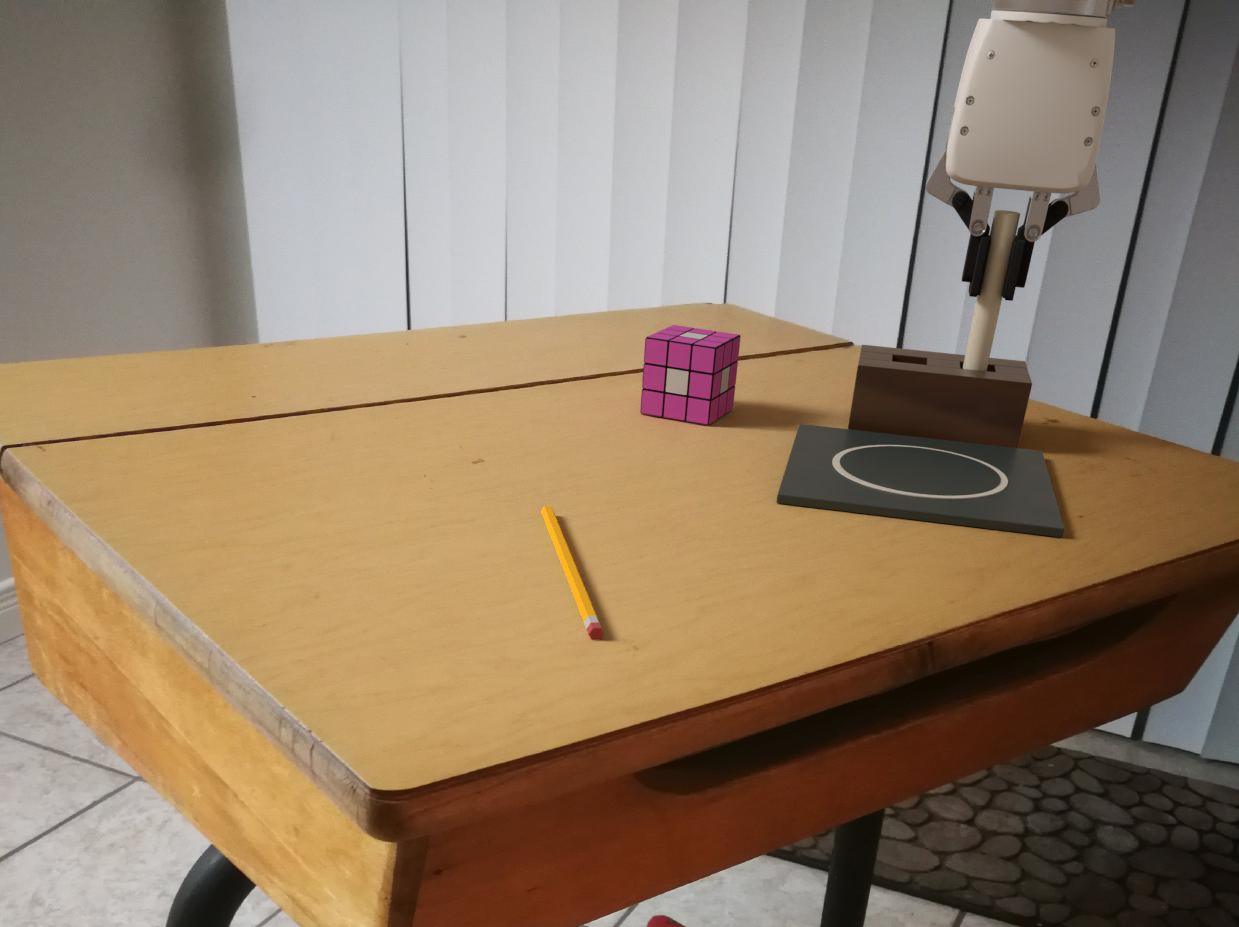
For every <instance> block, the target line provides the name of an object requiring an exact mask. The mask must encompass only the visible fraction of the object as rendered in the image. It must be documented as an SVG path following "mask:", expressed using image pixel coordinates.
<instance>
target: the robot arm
mask: <svg viewBox="0 0 1239 927" xmlns="http://www.w3.org/2000/svg"><path fill="white" fill-rule="evenodd" d="M1135 3H1136V0H993V2H992V8H991V13H990V18H978V21H977V22H976V26H975V28H974V31H973V34H972V37H971V40H970V43H969V46H968V49H967V53H966V56H965V59H964V64H963V67H962V72H961V74H960V79H959V83H958V87H957V91H956V96H955V100H954V104H953V109H952V112H951V118H950V123H949V128H948V132H947V137H946V144H945V149H944V150H943V152H942V154H941V156H940V158H939V160H938V161H937V163H936V165H935V166H934V168H933V170H932V172H931V173H930V175H929V177H928V179H927V181H926V183H925V191H926V193H928V195H930V196H932V197H933V198H936V199H937V200H939V201H941V202H942V203H944V204H946V205H947V206H950V207H952V208H953V209H954V210H955V212H956V213H957V215H958V216H959V218H960V219H961V221H962V222H963V224H964V225H965V227H966V228H967V230H968V231H969V233H970V235H969V238H968V244H967V249H966V250H967V251H966V254H965V258H964V259H965V260H964V264H963V270H962V274H961V282H963V283H969V285H968V289H967V290H968V297H972V298H977V295H979V296H980V292H981V288H982V283H983V278H984V273H985V268H986V263H987V259H988V254H989V249H990V244H991V238H989V236H990V232H991V227H990V224H989V223H988V222H989V216H990V212H991V208H992V207H991V206H992V203H993V202H992V201H993V195H994V190H995V189H1003V190H1014V191H1025V192H1029V195H1028V199H1027V204H1026V207H1025V208H1026V209H1025V212H1024V217H1023V222H1022V225H1020V226H1019V227H1017V232H1016V236H1015V240H1014V243H1013V248H1012V253H1011V257H1010V262H1009V267H1008V271H1007V276H1006V281H1005V285H1004V290H1003V294H1002V299H1004V300H1005V301H1010V302H1013V301H1014V297H1015V293H1016V288H1021V289H1024V288H1025V286H1026V283H1027V278H1028V274H1029V270H1030V265H1031V261H1032V256H1033V252H1034V248H1035V243H1036V242H1037V241H1038V240H1040V238H1041V237H1042V236H1043V235H1044V234H1046V233H1047V232H1048V231H1049V230H1050V229H1052V228H1054V227H1055V226H1056V225H1057V224H1058V223H1059V222H1061V221H1063V219H1064V218H1068V217H1072V216H1075V215H1079V214H1082V213H1085V212H1088V211H1092V210H1095V209H1096V208H1098V207H1099V205H1100V203H1101V196H1100V195H1101V194H1100V187H1099V178H1098V172H1097V164H1096V163H1097V159H1098V155H1099V149H1100V145H1101V140H1102V134H1103V130H1104V124H1105V119H1106V113H1107V107H1108V102H1109V96H1110V90H1111V83H1112V75H1113V74H1112V73H1113V65H1114V57H1115V45H1116V28H1115V27H1107V24H1108V18H1109V17H1111V14H1112V12H1115V11H1116V9H1122V7H1123V8H1124V7H1126V8H1134V6H1135ZM951 180H952V181H955V182H957V183H959V184H962V185H966V186H974V187H973V192H972V197H971V196H970V194H969V193H968V192H967V191H966V190H965V189H963V188H961V187H959V186H957V185H956V184H954V183H953V182H952V181H951ZM1052 194H1068V195H1066V196H1063V197H1061V198H1055V199H1053V200H1052V201H1051V197H1052Z"/></svg>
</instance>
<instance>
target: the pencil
mask: <svg viewBox="0 0 1239 927" xmlns="http://www.w3.org/2000/svg"><path fill="white" fill-rule="evenodd" d="M540 514H541V516H542V518H543V521H544V524H545V527H546V529H547V531H548V534H549V536H550V539H551V541H552V544H553V547H554V550H555V553H556V554H557V557H558V559H559V562H560V565H561V568H562V571H563V573H564V575H565V578H566V580H567V583H568V586H569V588H570V591H571V593H572V597H573V598H574V602H575V604H576V607H577V608H578V611H579V614H580V616H581V620H582V621H583V625H584V627H585V630H586V632H587V635H588V636H589V638H590V640H591V641H600V640H601V639H602V638H603V636H604V635H605V632H604V629H603V627H602V624H601V622H600V620H599V618H598V617H599V616H598V615H597V613H596V611H595V608H594V606H593V603H592V600H591V599H590V595H589V593H588V591H587V589H586V586H585V584H584V581H583V579H582V577H581V574H580V571H579V569H578V567H577V565H576V562H575V560H574V557H573V554H572V552H571V550H570V548H569V545H568V543H567V540H566V538H565V535H564V533H563V531H562V528H561V525H560V523H559V520H558V518H557V516H556V514H555V512H554V510H553V507H552V506H551V505H543V507H542V509H541V510H540Z"/></svg>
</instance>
